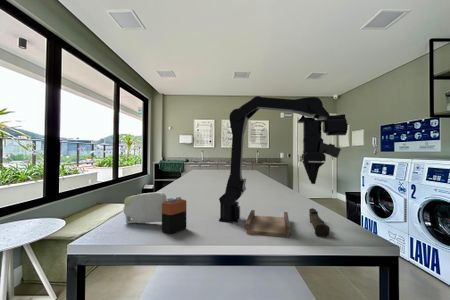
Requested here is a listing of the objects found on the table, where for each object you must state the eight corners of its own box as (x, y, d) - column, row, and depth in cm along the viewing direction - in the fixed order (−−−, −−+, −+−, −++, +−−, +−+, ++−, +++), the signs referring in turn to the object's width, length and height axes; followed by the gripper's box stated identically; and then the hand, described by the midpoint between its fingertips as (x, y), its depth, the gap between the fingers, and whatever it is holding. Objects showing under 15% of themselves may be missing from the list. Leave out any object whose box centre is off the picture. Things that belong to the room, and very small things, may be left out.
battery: (161, 231, 69) (161, 199, 69) (177, 226, 75) (177, 195, 75) (170, 234, 67) (170, 200, 67) (187, 228, 72) (187, 197, 73)
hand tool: (329, 238, 65) (330, 222, 65) (315, 237, 66) (315, 221, 66) (319, 220, 84) (319, 207, 84) (307, 219, 84) (307, 206, 85)
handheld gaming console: (129, 227, 80) (169, 224, 77) (124, 229, 77) (165, 226, 74) (126, 195, 80) (166, 191, 78) (121, 196, 78) (162, 192, 75)
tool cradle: (245, 233, 68) (245, 223, 68) (251, 217, 85) (251, 209, 85) (289, 237, 65) (289, 226, 65) (287, 220, 82) (287, 212, 82)
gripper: (344, 132, 65) (344, 187, 65) (333, 137, 83) (333, 180, 83) (303, 133, 69) (303, 185, 68) (301, 137, 86) (301, 178, 86)
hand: (312, 182), depth 76 cm, fingers open, 9 cm apart
